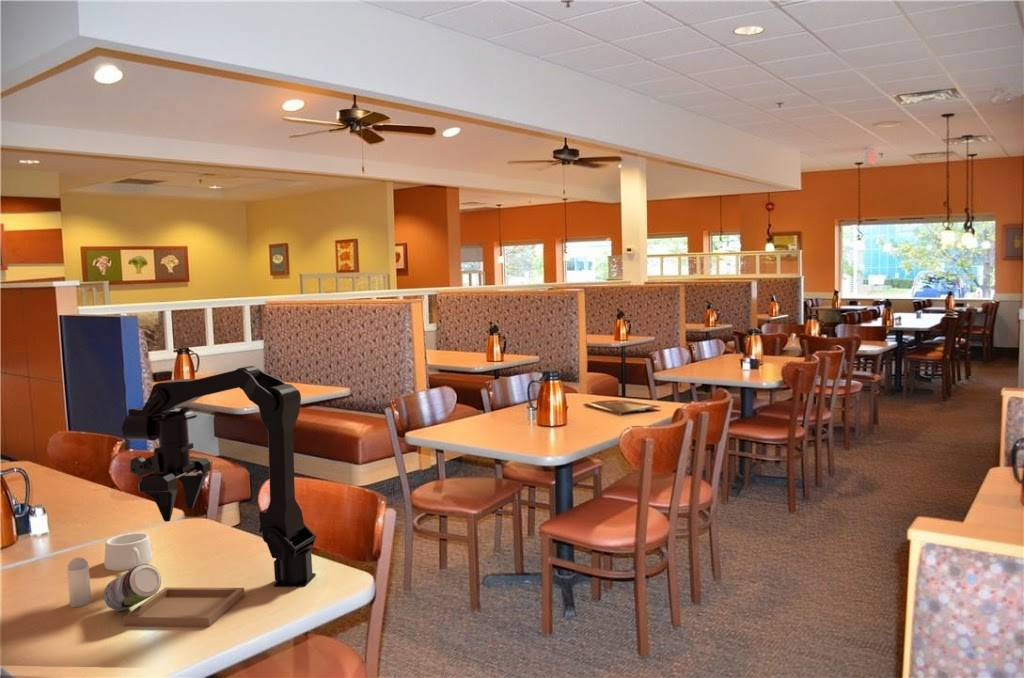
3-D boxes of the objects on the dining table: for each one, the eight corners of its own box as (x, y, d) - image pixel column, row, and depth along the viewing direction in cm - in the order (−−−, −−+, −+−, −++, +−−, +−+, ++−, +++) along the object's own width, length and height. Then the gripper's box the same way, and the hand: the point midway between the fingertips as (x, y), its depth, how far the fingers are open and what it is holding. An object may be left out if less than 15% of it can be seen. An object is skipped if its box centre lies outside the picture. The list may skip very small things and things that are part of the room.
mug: (99, 566, 176) (97, 539, 176) (145, 555, 183) (144, 529, 182) (114, 579, 167) (112, 551, 167) (163, 567, 173) (161, 540, 173)
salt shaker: (95, 599, 156) (91, 554, 156) (83, 607, 153) (80, 561, 152) (78, 599, 157) (74, 554, 156) (65, 607, 153) (62, 561, 152)
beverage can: (127, 584, 141) (86, 598, 147) (159, 607, 145) (117, 620, 150) (145, 554, 146) (104, 569, 151) (175, 577, 150) (134, 591, 155)
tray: (244, 595, 155) (244, 587, 155) (209, 626, 141) (208, 617, 141) (165, 595, 157) (165, 587, 157) (123, 625, 143) (123, 617, 143)
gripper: (161, 433, 177) (166, 502, 178) (110, 450, 159) (116, 528, 160) (209, 432, 176) (214, 502, 177) (163, 450, 158) (169, 528, 159)
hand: (178, 514), depth 168 cm, fingers open, 9 cm apart
